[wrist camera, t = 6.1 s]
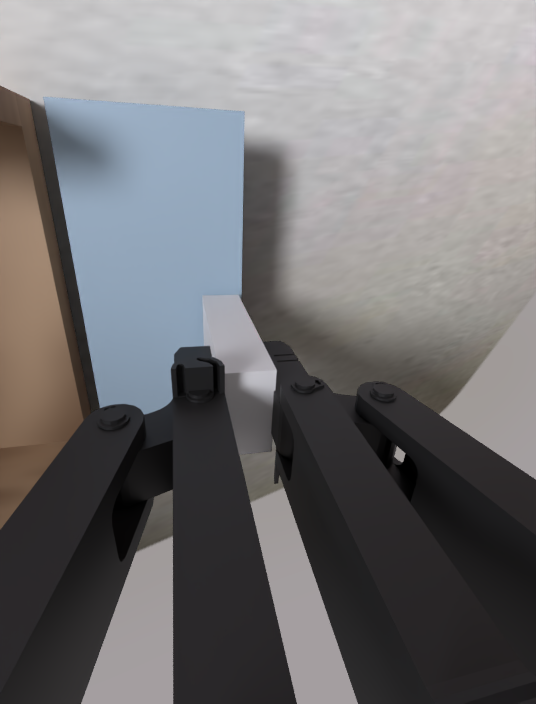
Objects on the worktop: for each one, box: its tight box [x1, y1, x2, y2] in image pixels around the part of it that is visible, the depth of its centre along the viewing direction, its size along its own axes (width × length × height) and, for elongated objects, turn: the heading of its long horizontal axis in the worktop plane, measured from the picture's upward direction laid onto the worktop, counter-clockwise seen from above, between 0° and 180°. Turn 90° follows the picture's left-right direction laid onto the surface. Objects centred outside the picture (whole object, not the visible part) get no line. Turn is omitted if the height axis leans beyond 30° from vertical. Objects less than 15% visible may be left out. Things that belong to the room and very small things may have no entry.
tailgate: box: [43, 97, 244, 415], centre depth 17 cm, size 2×16×6 cm
